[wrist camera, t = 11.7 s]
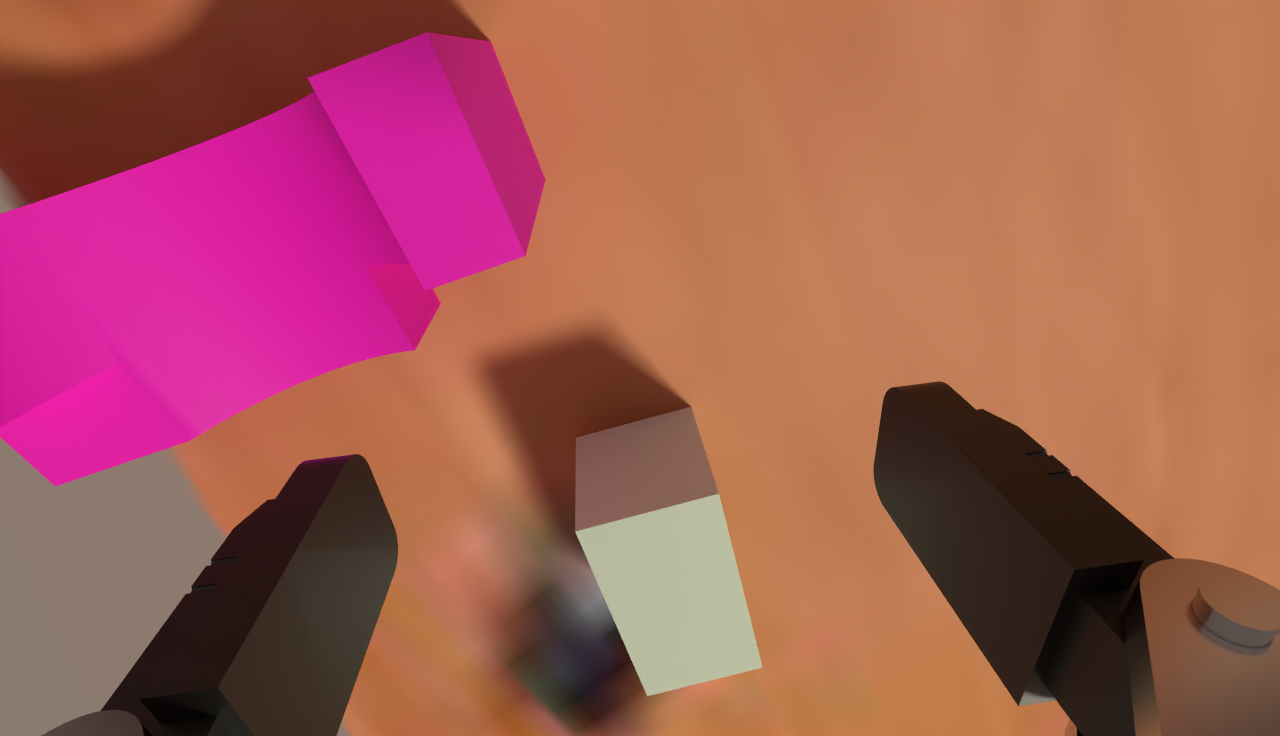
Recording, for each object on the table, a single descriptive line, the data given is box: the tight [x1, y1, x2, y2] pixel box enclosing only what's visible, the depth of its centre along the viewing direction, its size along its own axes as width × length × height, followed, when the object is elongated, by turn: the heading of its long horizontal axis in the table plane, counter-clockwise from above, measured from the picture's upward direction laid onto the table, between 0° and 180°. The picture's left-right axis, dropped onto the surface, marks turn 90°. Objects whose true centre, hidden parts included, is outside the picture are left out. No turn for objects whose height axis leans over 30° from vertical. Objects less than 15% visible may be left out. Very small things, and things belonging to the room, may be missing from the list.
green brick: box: [575, 407, 762, 696], centre depth 22 cm, size 4×9×5 cm, turn 15°
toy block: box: [0, 32, 545, 486], centre depth 14 cm, size 15×6×8 cm, turn 108°
